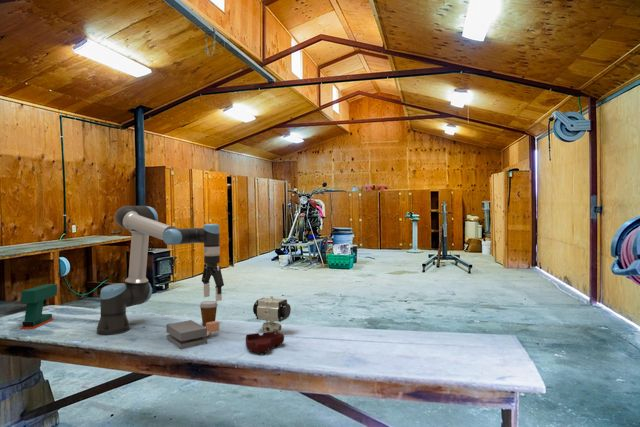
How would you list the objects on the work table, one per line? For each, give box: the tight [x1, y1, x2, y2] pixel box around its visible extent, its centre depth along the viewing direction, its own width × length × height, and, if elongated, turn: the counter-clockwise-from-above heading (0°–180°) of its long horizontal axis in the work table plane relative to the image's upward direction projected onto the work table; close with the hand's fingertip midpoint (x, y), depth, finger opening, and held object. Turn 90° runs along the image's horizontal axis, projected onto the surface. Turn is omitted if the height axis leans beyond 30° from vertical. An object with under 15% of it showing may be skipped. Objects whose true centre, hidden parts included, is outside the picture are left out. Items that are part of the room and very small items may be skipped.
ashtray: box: [245, 331, 285, 355], centre depth 176 cm, size 18×16×5 cm
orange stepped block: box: [205, 320, 220, 335], centre depth 191 cm, size 18×7×4 cm, turn 130°
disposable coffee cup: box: [199, 300, 219, 327], centre depth 214 cm, size 10×10×12 cm
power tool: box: [20, 283, 60, 330], centre depth 225 cm, size 32×7×20 cm, turn 6°
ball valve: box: [252, 295, 292, 334], centre depth 200 cm, size 18×8×18 cm, turn 67°
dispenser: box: [165, 319, 210, 350], centre depth 187 cm, size 13×19×7 cm
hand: (212, 298), depth 195 cm, fingers open, 13 cm apart
